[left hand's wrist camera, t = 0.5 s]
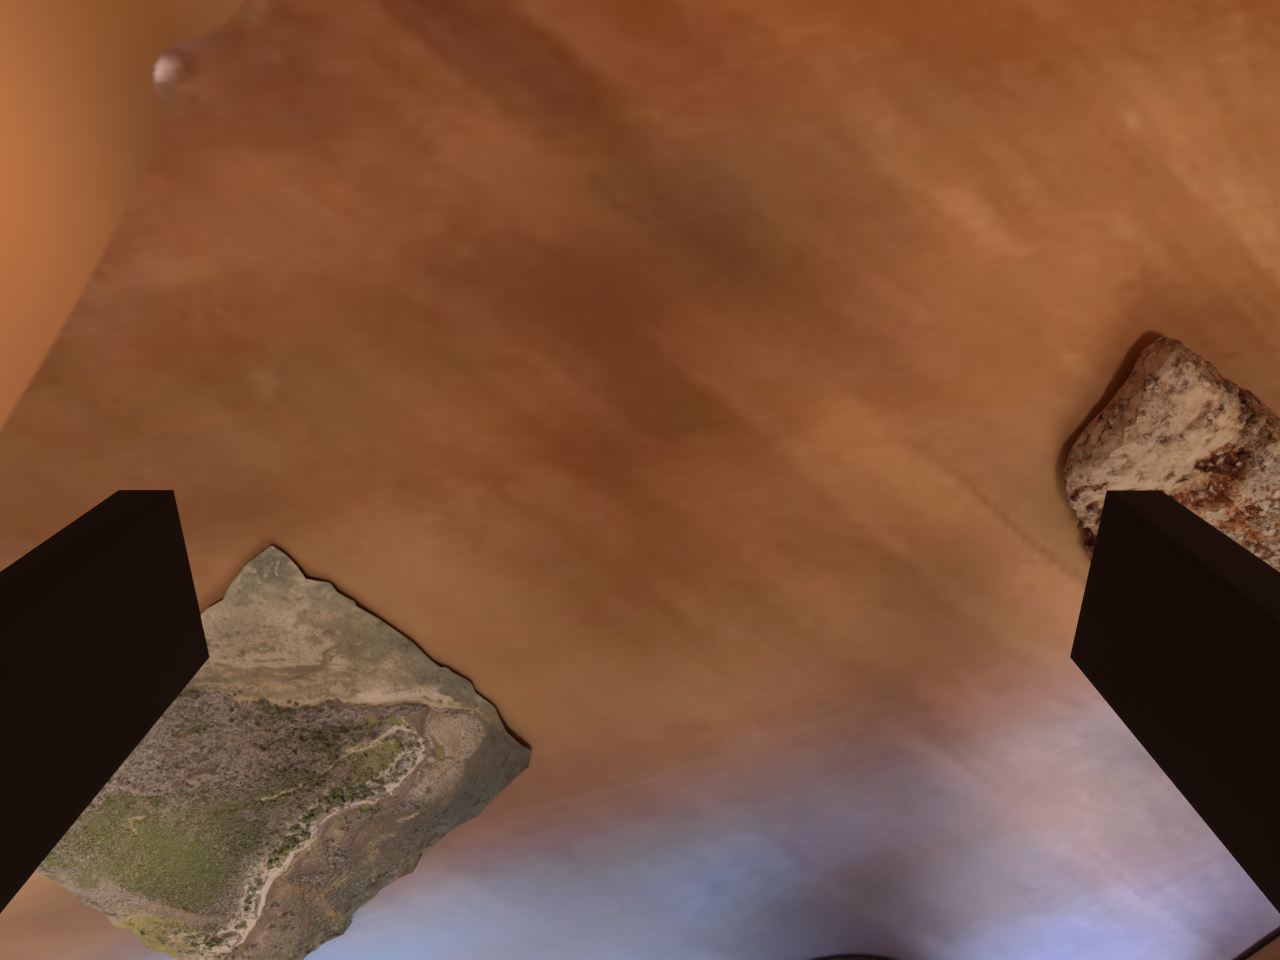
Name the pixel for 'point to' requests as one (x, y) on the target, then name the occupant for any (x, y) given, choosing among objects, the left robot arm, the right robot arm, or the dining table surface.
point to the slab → (284, 778)
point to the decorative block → (1268, 951)
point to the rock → (1183, 449)
